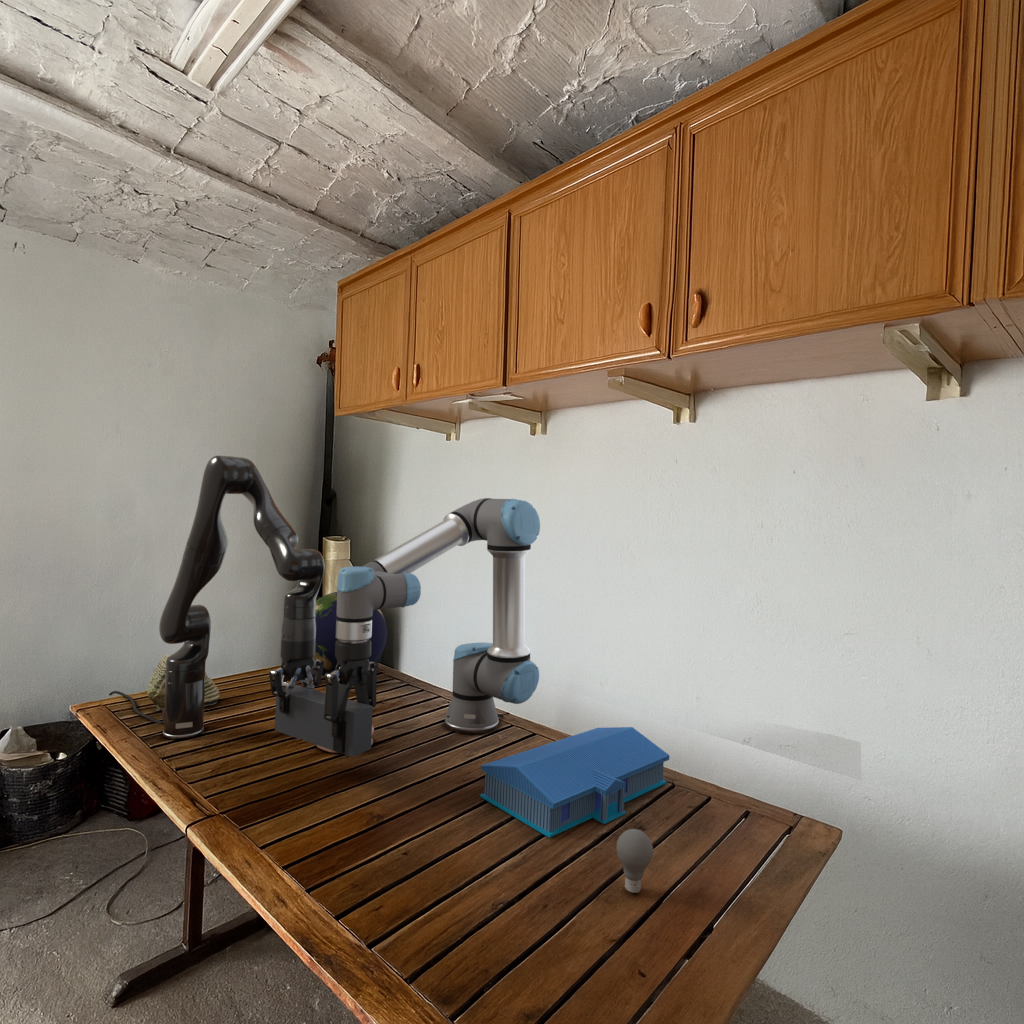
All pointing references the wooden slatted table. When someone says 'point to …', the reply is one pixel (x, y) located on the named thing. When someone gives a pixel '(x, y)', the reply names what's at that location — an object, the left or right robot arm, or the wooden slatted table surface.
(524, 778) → the model building
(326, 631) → the globe
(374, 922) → the wooden slatted table surface
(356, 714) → the bar
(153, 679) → the fossil
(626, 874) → the light bulb
